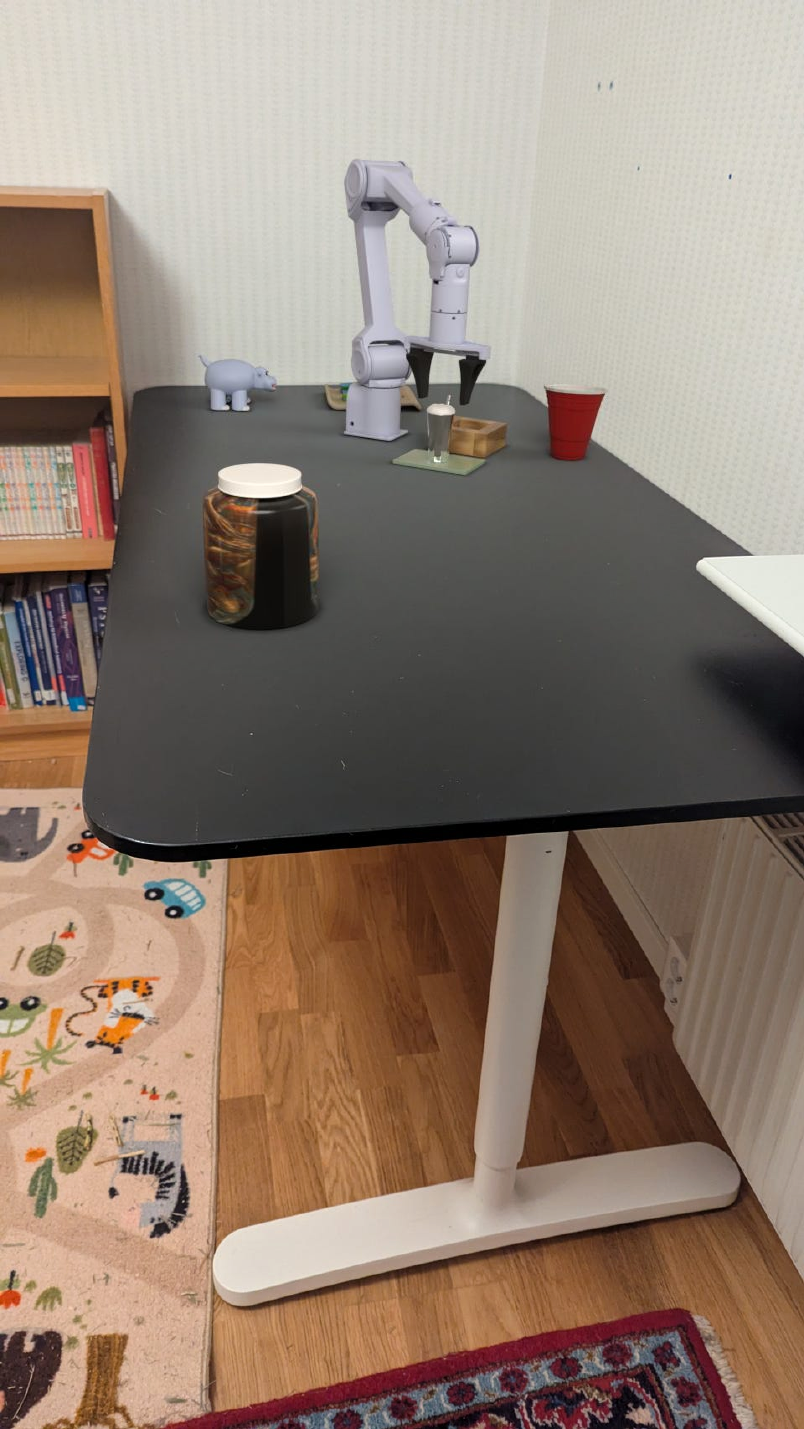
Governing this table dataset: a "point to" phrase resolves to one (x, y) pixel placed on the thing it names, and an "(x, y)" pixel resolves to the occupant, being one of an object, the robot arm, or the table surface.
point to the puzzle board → (339, 396)
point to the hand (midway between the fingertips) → (443, 401)
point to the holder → (477, 436)
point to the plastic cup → (572, 418)
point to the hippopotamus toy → (234, 382)
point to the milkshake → (439, 430)
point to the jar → (261, 547)
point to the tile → (451, 466)
